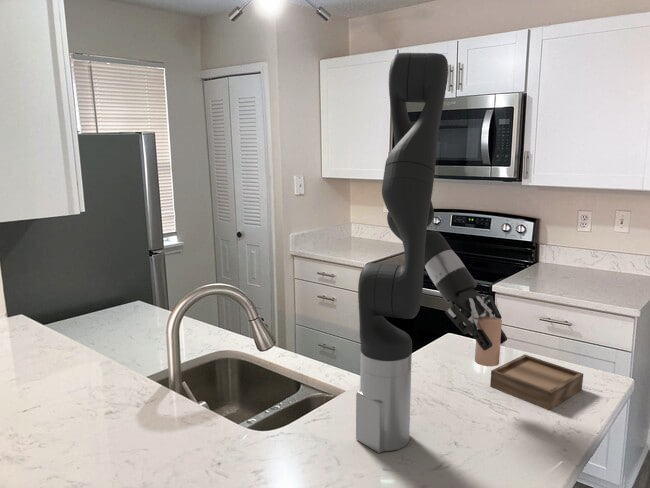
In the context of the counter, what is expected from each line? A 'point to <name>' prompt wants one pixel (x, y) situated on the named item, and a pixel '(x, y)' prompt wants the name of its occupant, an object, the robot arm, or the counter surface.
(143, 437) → the counter surface
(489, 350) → the tan cylinder
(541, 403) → the square brown tray
